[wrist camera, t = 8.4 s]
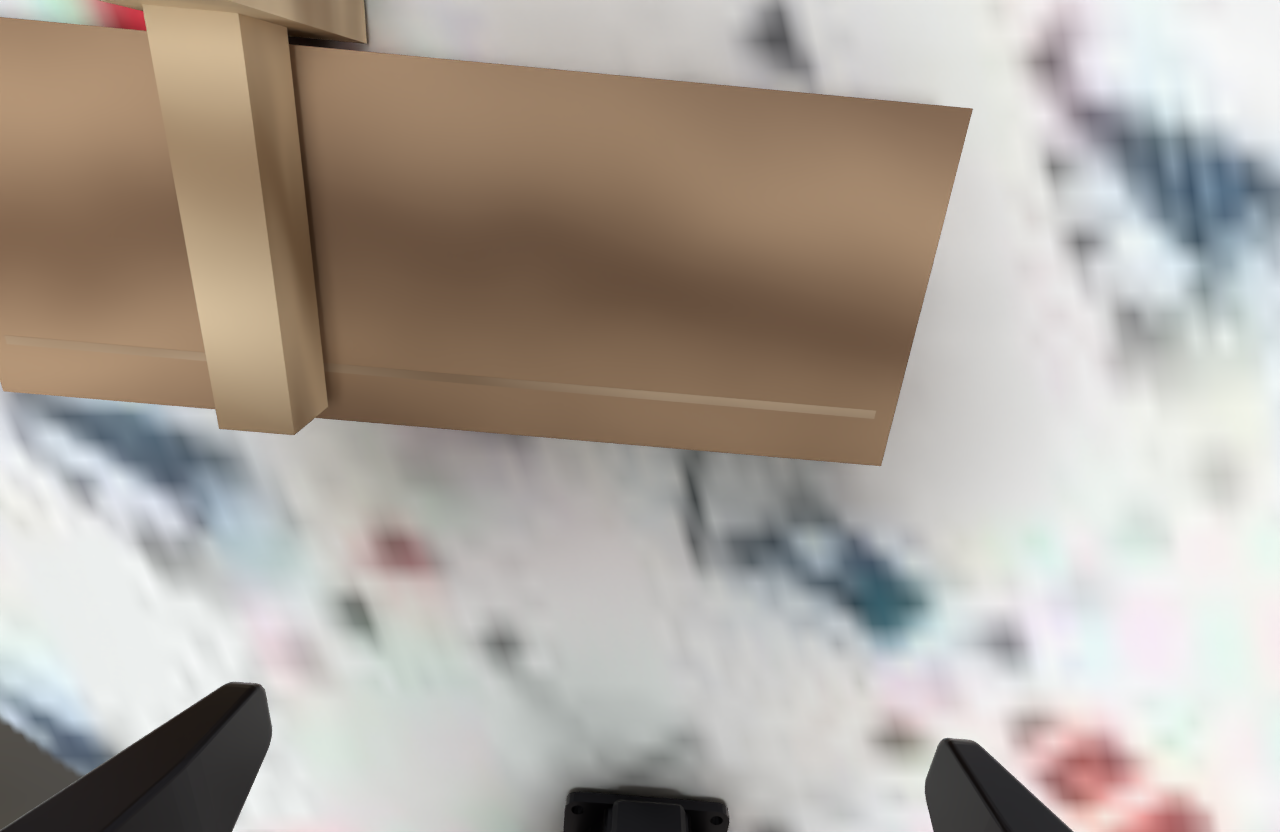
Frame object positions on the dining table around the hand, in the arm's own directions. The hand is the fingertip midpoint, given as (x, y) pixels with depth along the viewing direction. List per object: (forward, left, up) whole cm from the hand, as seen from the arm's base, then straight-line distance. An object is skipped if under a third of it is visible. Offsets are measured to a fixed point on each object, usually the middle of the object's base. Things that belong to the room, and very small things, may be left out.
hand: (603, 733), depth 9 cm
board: (+4, +5, -12) cm, 14 cm away
